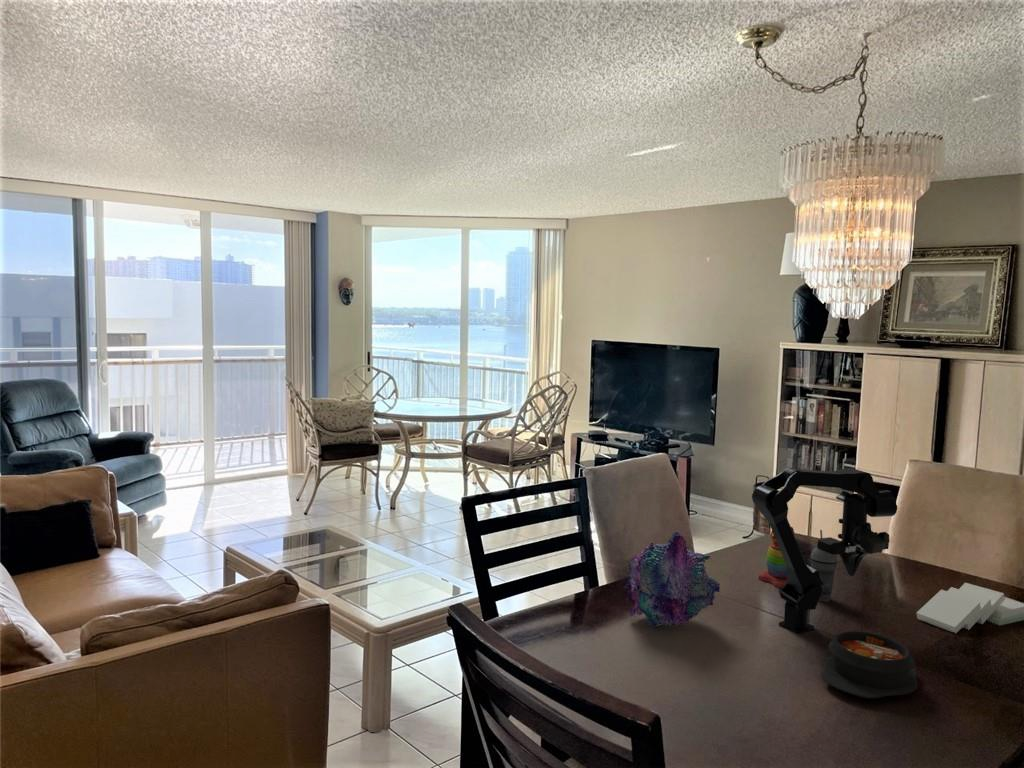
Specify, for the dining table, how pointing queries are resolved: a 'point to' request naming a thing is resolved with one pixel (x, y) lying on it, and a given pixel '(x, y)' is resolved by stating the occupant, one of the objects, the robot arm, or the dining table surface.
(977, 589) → the domino
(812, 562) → the beverage cup
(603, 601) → the dining table surface
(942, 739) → the dining table surface
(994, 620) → the domino
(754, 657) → the dining table surface
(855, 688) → the casserole
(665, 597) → the coral
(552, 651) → the dining table surface
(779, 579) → the stacking bear
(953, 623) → the domino
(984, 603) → the domino
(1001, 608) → the domino
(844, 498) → the robot arm
